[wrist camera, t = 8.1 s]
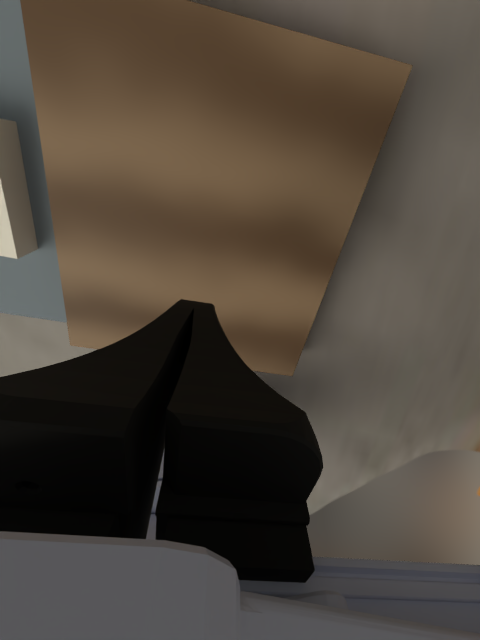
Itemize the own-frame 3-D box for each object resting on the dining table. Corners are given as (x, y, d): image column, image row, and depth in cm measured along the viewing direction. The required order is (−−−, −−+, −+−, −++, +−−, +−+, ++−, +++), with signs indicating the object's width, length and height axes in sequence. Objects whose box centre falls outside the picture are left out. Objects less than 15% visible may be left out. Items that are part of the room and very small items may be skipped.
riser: (285, 351, 23) (292, 376, 21) (89, 322, 22) (70, 345, 19) (380, 81, 14) (412, 65, 12) (58, -8, 13) (12, -51, 10)
